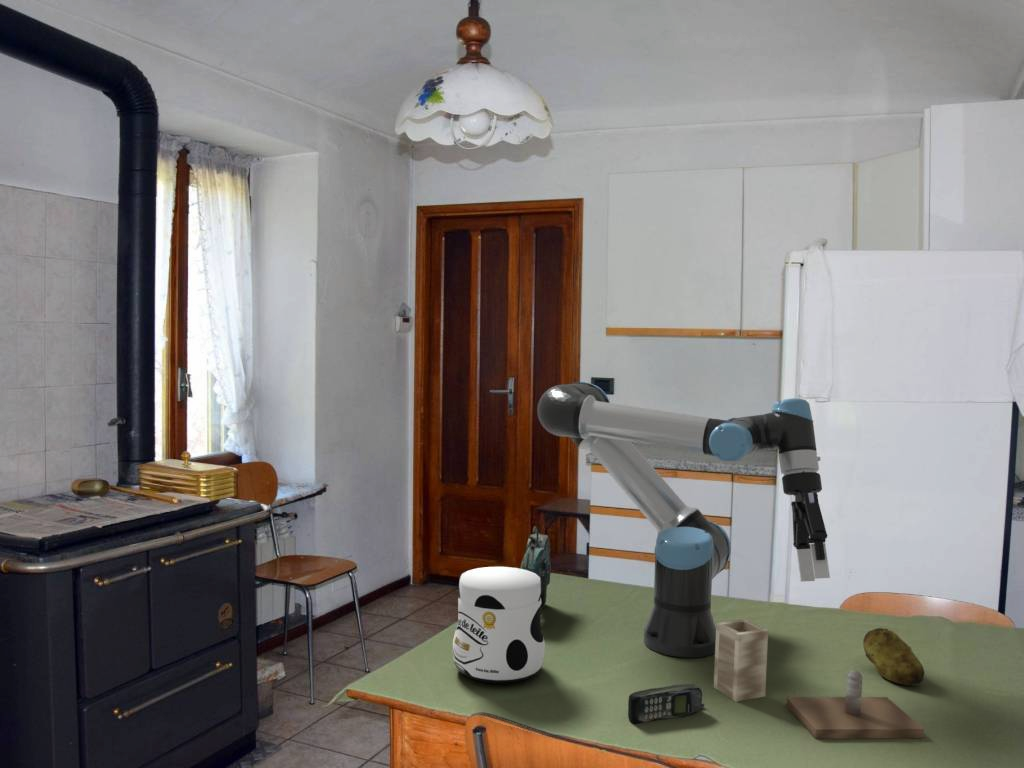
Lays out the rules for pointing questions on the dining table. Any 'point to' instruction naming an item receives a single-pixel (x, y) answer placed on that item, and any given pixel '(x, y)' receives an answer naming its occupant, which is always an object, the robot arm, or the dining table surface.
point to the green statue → (538, 560)
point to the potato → (892, 657)
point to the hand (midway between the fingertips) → (814, 580)
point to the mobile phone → (664, 703)
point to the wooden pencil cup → (740, 659)
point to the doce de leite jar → (499, 625)
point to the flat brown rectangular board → (853, 715)
